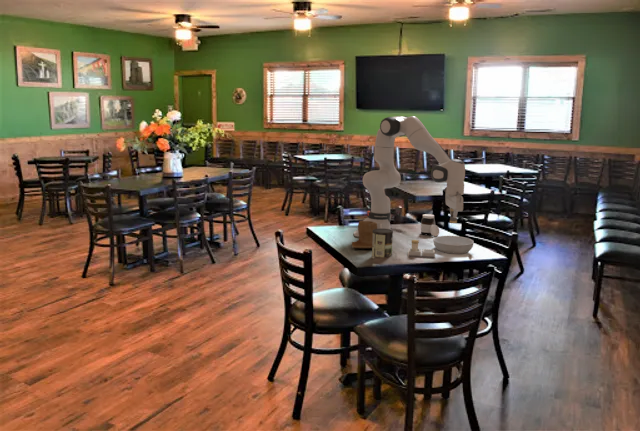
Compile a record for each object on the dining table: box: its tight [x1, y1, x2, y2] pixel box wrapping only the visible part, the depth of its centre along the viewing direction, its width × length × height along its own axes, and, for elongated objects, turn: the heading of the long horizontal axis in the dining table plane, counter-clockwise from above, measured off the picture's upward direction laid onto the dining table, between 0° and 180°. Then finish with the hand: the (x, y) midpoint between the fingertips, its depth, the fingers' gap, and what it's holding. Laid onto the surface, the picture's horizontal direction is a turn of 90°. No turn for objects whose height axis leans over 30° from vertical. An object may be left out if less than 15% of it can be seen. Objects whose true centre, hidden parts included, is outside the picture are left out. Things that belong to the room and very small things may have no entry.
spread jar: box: [420, 213, 440, 237], centre depth 338 cm, size 12×11×12 cm
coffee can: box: [371, 228, 394, 259], centre depth 285 cm, size 10×10×14 cm
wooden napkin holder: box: [351, 220, 377, 249], centre depth 304 cm, size 15×12×15 cm
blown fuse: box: [449, 208, 458, 224], centre depth 294 cm, size 4×4×8 cm
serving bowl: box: [432, 235, 475, 255], centre depth 299 cm, size 21×21×7 cm
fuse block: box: [407, 247, 437, 260], centre depth 287 cm, size 14×10×4 cm
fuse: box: [411, 239, 420, 251], centre depth 286 cm, size 4×4×8 cm
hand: (453, 216), depth 294 cm, fingers closed on blown fuse, 3 cm apart
